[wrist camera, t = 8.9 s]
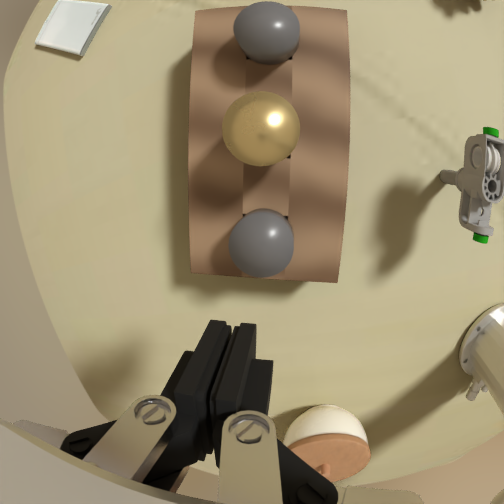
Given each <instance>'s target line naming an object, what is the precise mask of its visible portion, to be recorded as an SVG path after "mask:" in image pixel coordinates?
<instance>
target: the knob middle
mask: <svg viewBox="0 0 504 504" xmlns="http://www.w3.org/2000/svg"><path fill="white" fill-rule="evenodd" d="M222 135H223V139H224V142H225V144H226V146H227V148H228V150H229V151H230V152H231V153H232V155H234V156H235V157H236V158H237V159H239V160H240V161H242V162H244V163H246V164H249V165H253V166H269V165H273V164H276V163H278V162H281V161H282V160H284V159H286V158H287V157H288V156H289V155H290V154H291V153H292V152H293V150H294V149H295V147H296V145H297V142H298V139H299V135H300V122H299V118H298V115H297V113H296V111H295V109H294V108H293V106H292V105H291V104H290V103H289V102H288V101H287V100H286V99H284V98H283V97H281V96H279V95H277V94H274V93H271V92H265V91H257V92H251V93H248V94H245V95H243V96H241V97H240V98H238V99H237V100H236V101H234V102H233V103H232V104H231V105H230V107H229V108H228V110H227V111H226V113H225V116H224V118H223V123H222Z"/></svg>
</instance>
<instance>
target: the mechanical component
mask: <svg viewBox="0 0 504 504" xmlns="http://www.w3.org/2000/svg"><path fill="white" fill-rule="evenodd" d="M498 137H499V130H497V129H494V128H490V127H483V134H477V135H476V136H470V137H469V138H468V139H467V141H466V144H465V155H464V168H461V169H459V170H458V172H456V171H452V170H442V171H441V172H440V180H441V181H442V182H444V183H447V184H451V185H456V186H457V188H458V189H459V191H461V201H460V208H459V221H460V224H461V225H462V226H463V227H464V228H466V229H468V230H470V231H473V232H474V235H473V240H475V241H477V242H480V243H485V244H486V243H487V242H488V237H489V236H492V235H493V230H494V228H493V227H491V226H489V220H490V214H491V207H492V203H498V202H500V201H501V199H502V198H503V196H504V140H502V139H499V138H498ZM499 154H500V156H499ZM500 157H501V165H500ZM499 165H500V168H499ZM498 169H499V170H498ZM497 171H498V172H497ZM496 172H497V173H496ZM481 210H482V214H481ZM488 235H489V236H488Z"/></svg>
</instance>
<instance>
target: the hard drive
mask: <svg viewBox="0 0 504 504" xmlns="http://www.w3.org/2000/svg"><path fill="white" fill-rule="evenodd" d="M111 7H112V6H111V5H109V4H103V3H95V2H86V1H75V0H58V1H57V2H56V4H55V6H54V7H53V9H52V11H51V12H50V14H49V16H48V18H47V19H46V21H45V23H44V25H43V27H42V29H41V31H40V33H39V35H38V37H37V39H36V41H35V44H36V45H41V46H45V47H49V48H53V49H57V50H61V51H65V52H69V53H72V54H76V55H80V56H84V54H85V52H86V51H87V49H88V47H89V45H90V43H91V41H92V39H93V38H94V36H95V34H96V32H97V30H98V29H99V27H100V25H101V24H102V22H103V20H104V19H105V17H106V15H107V14H108V12H109V11H110V9H111Z"/></svg>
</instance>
